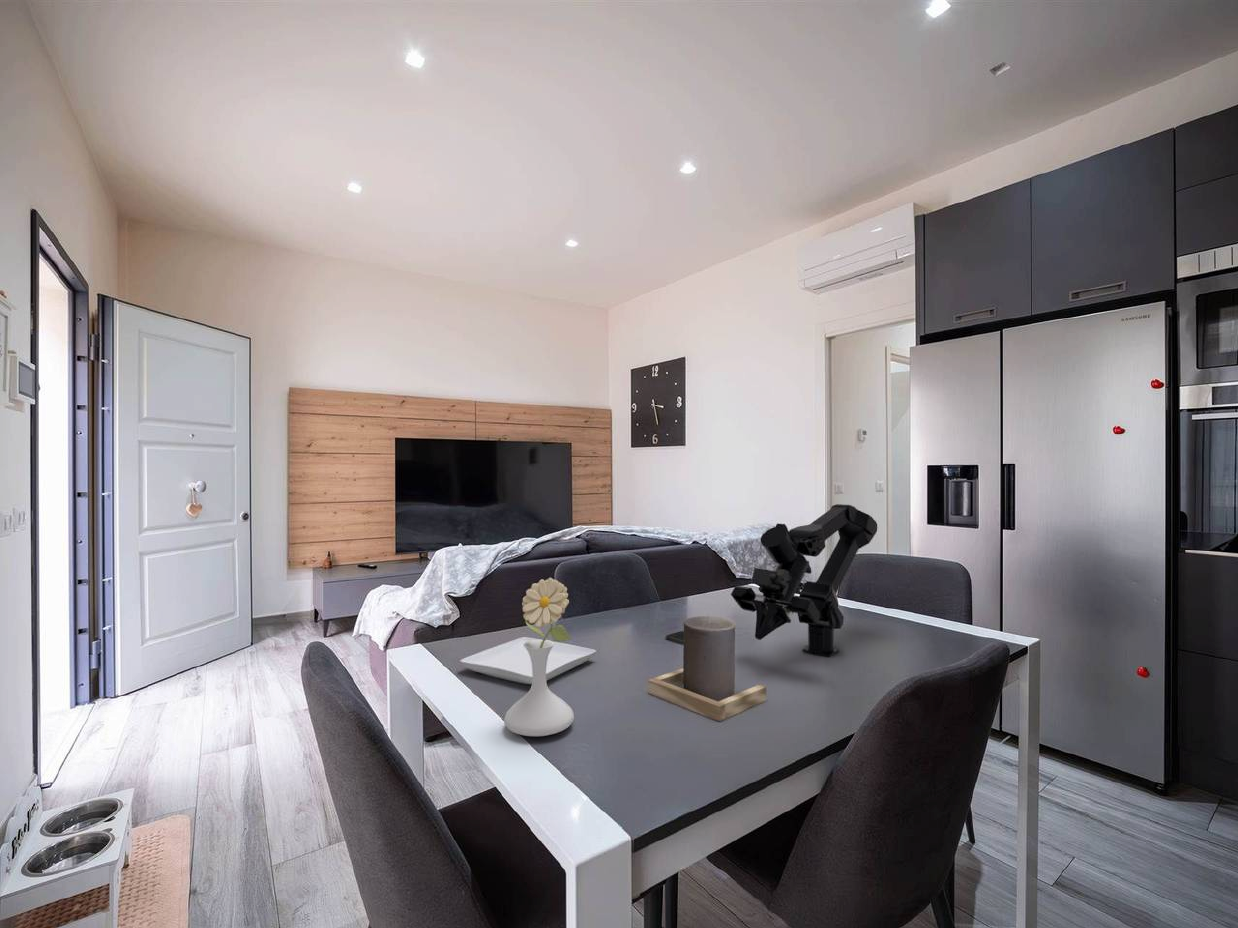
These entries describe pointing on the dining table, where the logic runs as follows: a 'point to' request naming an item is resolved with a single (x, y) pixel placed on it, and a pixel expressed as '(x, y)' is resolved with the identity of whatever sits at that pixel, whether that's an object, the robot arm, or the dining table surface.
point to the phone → (676, 637)
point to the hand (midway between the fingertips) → (757, 638)
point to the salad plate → (525, 660)
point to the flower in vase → (541, 665)
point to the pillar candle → (709, 657)
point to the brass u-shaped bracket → (718, 711)
